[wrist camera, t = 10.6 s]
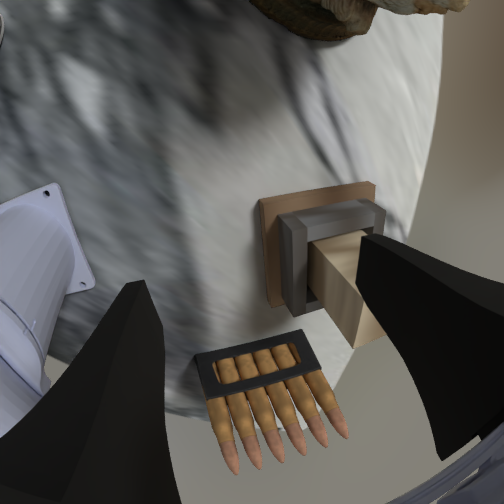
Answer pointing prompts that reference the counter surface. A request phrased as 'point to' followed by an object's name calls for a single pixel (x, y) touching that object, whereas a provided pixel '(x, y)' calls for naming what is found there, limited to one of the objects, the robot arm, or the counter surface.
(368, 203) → the socket
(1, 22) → the supplement bottle
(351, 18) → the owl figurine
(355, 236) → the square peg
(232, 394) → the ammunition clip
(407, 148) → the counter surface
